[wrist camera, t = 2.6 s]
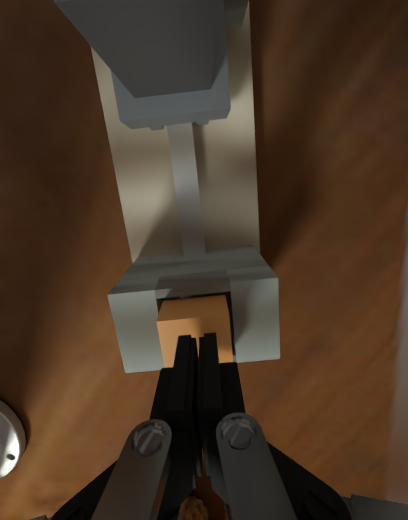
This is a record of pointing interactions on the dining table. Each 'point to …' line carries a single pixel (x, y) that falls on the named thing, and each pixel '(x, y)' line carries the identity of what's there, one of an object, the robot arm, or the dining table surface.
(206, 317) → the button
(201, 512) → the stuffed squirrel
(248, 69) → the grey block assembly
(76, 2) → the block
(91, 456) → the dining table surface
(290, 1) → the dining table surface
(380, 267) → the dining table surface
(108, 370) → the dining table surface
